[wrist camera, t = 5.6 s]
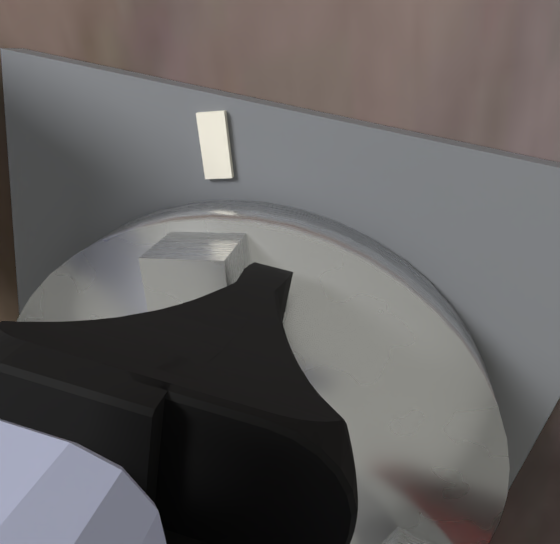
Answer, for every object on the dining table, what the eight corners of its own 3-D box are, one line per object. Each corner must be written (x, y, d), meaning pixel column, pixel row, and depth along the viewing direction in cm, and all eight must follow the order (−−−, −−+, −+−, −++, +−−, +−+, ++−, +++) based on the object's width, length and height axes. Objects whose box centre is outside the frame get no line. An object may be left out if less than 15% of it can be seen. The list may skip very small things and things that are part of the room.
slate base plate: (48, 515, 24) (31, 537, 22) (24, 48, 14) (-5, 48, 13) (414, 633, 22) (415, 663, 21) (652, 182, 13) (677, 194, 12)
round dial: (269, 622, 22) (247, 728, 18) (-24, 394, 19) (-112, 466, 16) (608, 456, 15) (676, 577, 11) (217, 74, 12) (155, 81, 9)
